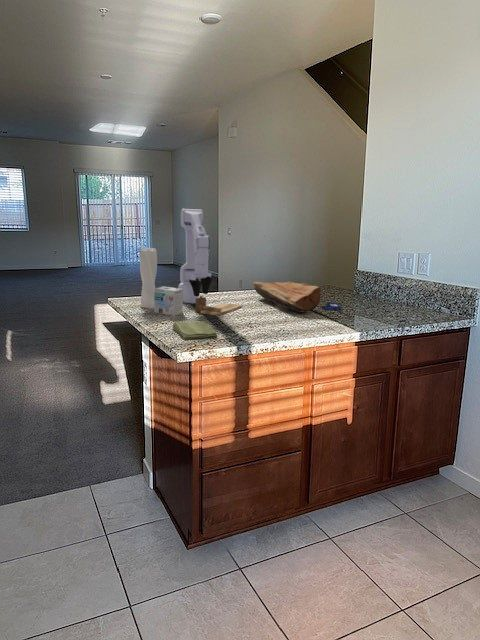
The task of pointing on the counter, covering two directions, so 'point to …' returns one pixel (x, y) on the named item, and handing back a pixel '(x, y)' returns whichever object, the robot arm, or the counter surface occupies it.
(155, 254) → the skyscraper
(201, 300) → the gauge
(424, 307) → the counter surface
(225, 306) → the board
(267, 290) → the log
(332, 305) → the bar clamp
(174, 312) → the light bulb box
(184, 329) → the washcloth
